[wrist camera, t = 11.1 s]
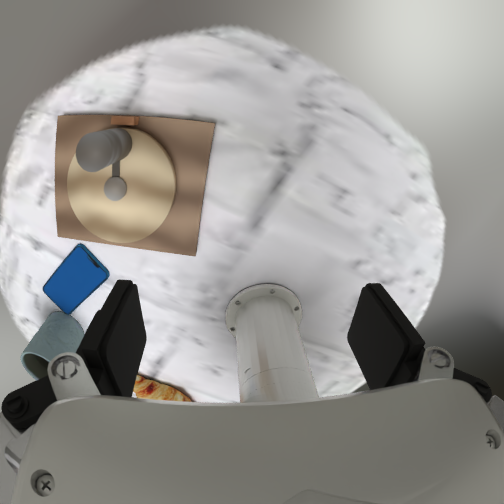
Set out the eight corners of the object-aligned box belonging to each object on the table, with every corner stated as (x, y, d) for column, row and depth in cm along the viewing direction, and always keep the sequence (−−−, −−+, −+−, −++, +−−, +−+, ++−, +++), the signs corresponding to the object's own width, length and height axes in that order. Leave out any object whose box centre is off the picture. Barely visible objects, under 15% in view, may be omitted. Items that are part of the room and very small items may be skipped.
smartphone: (40, 289, 41) (78, 242, 38) (43, 286, 42) (81, 240, 38) (68, 316, 44) (110, 276, 41) (70, 313, 45) (112, 273, 41)
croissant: (126, 364, 55) (110, 392, 50) (145, 364, 49) (127, 398, 44) (195, 407, 63) (183, 434, 58) (220, 411, 57) (208, 441, 52)
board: (196, 251, 41) (193, 263, 38) (62, 232, 37) (51, 242, 34) (215, 123, 33) (214, 123, 30) (63, 115, 29) (50, 116, 26)
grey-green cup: (79, 311, 44) (54, 357, 33) (94, 350, 49) (76, 395, 38) (39, 306, 43) (11, 347, 32) (55, 344, 48) (34, 385, 37)
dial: (174, 241, 38) (161, 276, 30) (77, 233, 36) (47, 262, 28) (181, 128, 31) (165, 132, 23) (73, 129, 29) (36, 136, 21)
